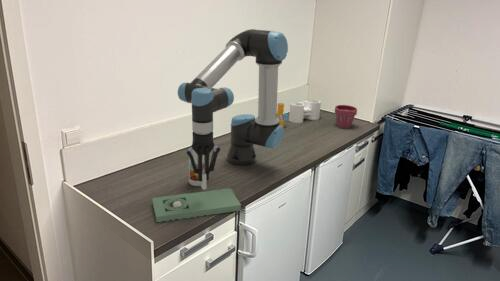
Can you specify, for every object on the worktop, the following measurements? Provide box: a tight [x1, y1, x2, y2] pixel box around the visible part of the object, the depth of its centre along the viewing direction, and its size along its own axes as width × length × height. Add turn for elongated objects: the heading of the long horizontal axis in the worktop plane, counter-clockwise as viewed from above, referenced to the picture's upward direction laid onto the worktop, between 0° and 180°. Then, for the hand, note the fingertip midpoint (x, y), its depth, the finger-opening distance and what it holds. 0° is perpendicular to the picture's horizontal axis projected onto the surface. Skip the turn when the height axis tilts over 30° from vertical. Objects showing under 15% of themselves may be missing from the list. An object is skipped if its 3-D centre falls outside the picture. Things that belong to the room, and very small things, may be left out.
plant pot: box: [334, 104, 358, 129], centre depth 251 cm, size 14×14×13 cm
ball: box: [173, 201, 182, 208], centre depth 146 cm, size 4×4×4 cm
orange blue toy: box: [276, 102, 289, 128], centre depth 245 cm, size 12×10×15 cm
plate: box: [151, 187, 242, 223], centre depth 148 cm, size 32×14×2 cm, turn 110°
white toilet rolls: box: [288, 98, 322, 124], centre depth 262 cm, size 25×10×12 cm, turn 129°
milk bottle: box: [188, 140, 207, 187], centre depth 164 cm, size 8×8×20 cm
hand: (203, 187), depth 147 cm, fingers closed
